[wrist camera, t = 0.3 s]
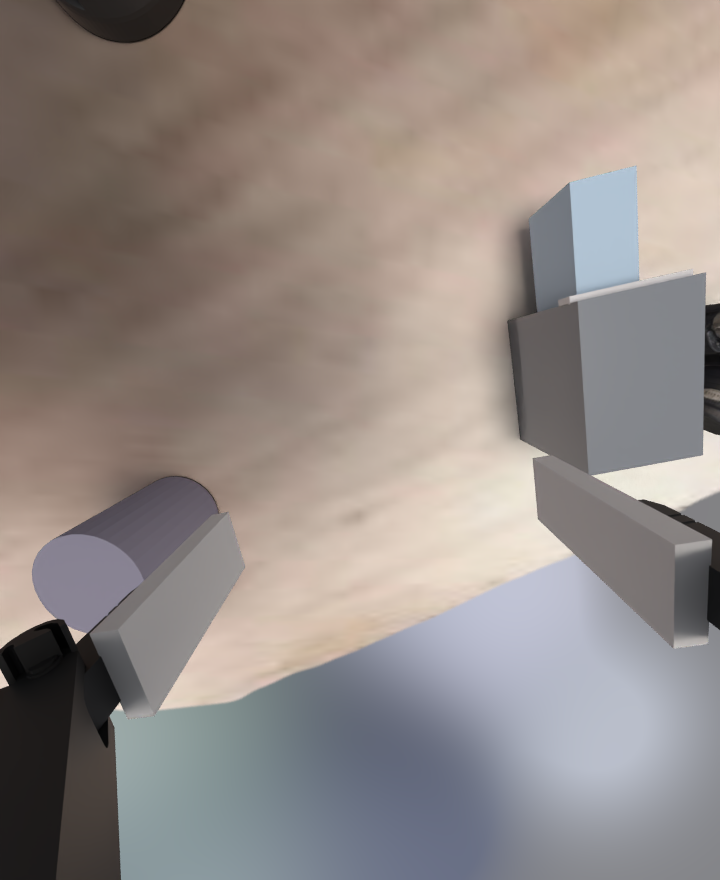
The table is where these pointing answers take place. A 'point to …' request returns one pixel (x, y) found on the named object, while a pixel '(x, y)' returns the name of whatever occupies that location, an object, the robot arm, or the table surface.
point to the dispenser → (614, 374)
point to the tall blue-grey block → (586, 238)
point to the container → (117, 550)
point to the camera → (712, 370)
